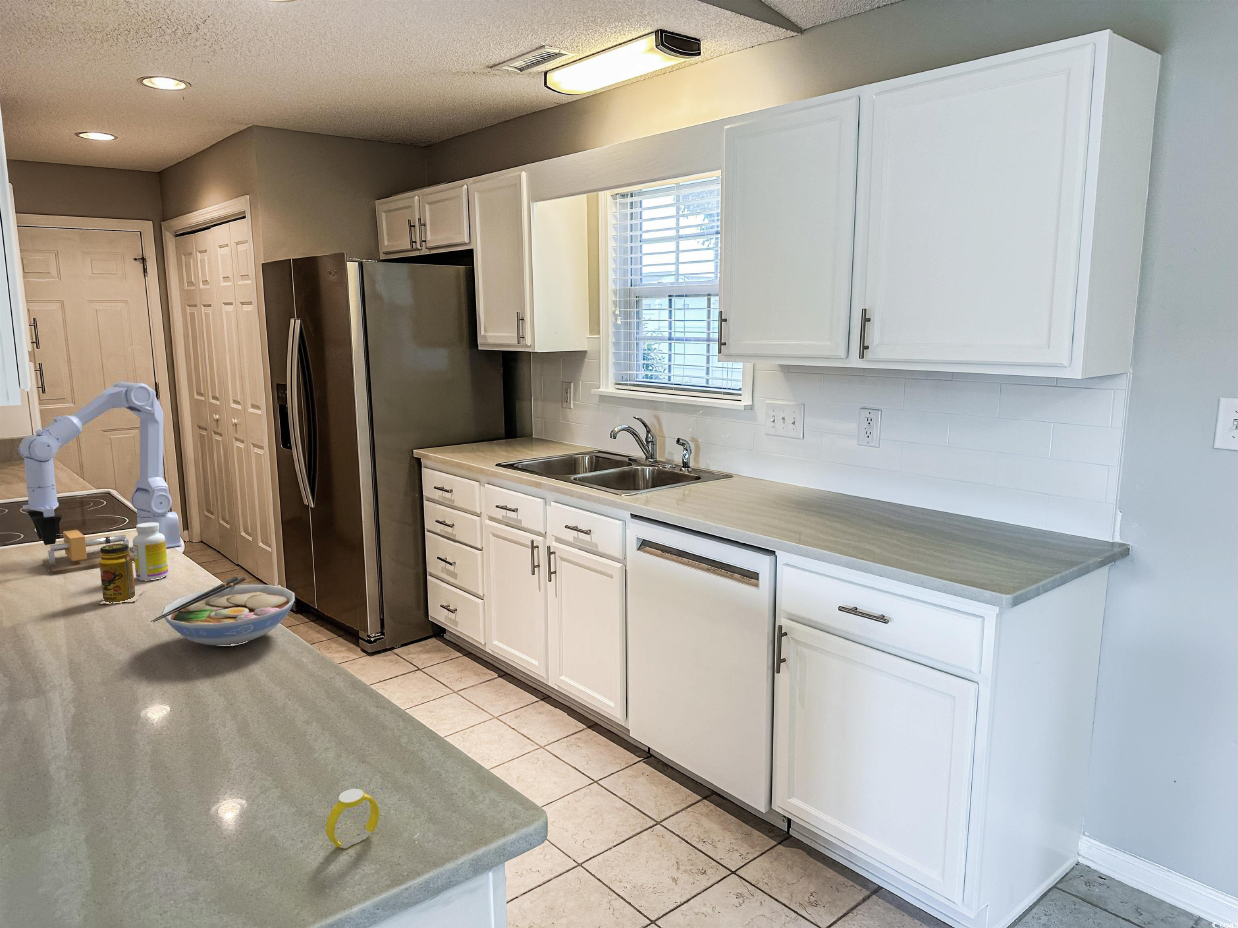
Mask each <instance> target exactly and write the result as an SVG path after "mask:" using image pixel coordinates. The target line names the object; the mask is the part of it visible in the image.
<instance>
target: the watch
mask: <svg viewBox="0 0 1238 928" xmlns="http://www.w3.org/2000/svg"><path fill="white" fill-rule="evenodd" d="M364 801H368V803H369V806H370V815H369V818H368V821H367V824H366V825H365V826H364V828H365V827H366V829H367V830H368V831H369V832H371V831H372V833H373V832H374V831H375V829H376V828H377V825H378V821H379V818H380V811H379V805H378V802H376V801H375V799H374V798H373V797H371V796H370V795H369V794H368V793H364V790H362V789H360V788H350V789H347V790H345V791H342V792H341V793H340V794H339V795H338V802H337V803H336V804H335V805H334V806H333V808H332V809H331V811H330V812H329V815H328V816H327V817H328V818H327V819H326V827H325V829H326V830H325V831H326V835H327V837H328V839H329V840H330V842H331V843H332V844H333V845H335V846H336V847H338V848H340V846H342V844H341V843H340V842H339V841H340V840H338V839H337V837H336V832H335V831H336V823H338V822H337V821H338V819H339V818H340V815H341V814H342V813H343V812H344V810H345V809H346V808H354V807H357V806H359V805H361V804H362V803H363V802H364ZM337 840H338V841H337Z"/></svg>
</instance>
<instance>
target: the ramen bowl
mask: <svg viewBox="0 0 1238 928" xmlns="http://www.w3.org/2000/svg"><path fill="white" fill-rule="evenodd" d="M245 581H246V577H244V576H243V577H240V578H238V576H234V577H231V578H230V579H228V580H226V581H225V582H222V583H221V584H218V585H216V586H215V587H213V588H211V589H207V590H201V591H196V592H194V593H190V594H188V595H183V596H181V597H178V598H176V599H175V600H173V601H171V602H170V603H168V604H166V605H165V606H164V607H163V610H162V612H161V615H160V616H158V617H156V618H154V619H152V620H150V623H152V622H153V623H156V622H157V621H160V620H163V619H164V620H165V621H166V623H167V624H168V625H169V626H170V627H171V628H172V629H173V630H174V631H176V632H177V633H178V634H180V635H181V636H182V637H183V638H185V639H186V640H187V641H190V642H193V643H198V644H203V645H207V646H214V645H231V644H239V643H243V642H246V641H250V640H252V641H253V640H255V639H257V638H259V637H263V636H265V635H267V634H268V633H270V632H271V631H273V630H274V629H275V628H276V627H277V626H278V625H280V624H281V623H282V622H283V620H284V619H285V618H286V617H287V615H288V613H289V612H290V610H291V609H292V607H293V605H294V603H295V592H293V591H291V590H289V589H287V588H286V587H282V586H276V585H270V584H241V583H242V582H245ZM238 584H241V585H238ZM250 642H251V641H250Z"/></svg>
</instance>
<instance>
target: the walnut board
mask: <svg viewBox="0 0 1238 928" xmlns="http://www.w3.org/2000/svg"><path fill="white" fill-rule="evenodd" d="M86 553H87V559H83V560H76V561H72V560H71V559H70V558H69V557H68V556H67V555H66V556H59V557H58V556H57V557H55V565H51V566H50V564H49V558H45V559H42V564H43V565H44V566H45V568H46V569H47V570H48V571H49V572H50V574H51V575H52V576H55V575H56V576H57V575H61V574H68V573H75V572H83V571H86V570H87V571H88V570H94V569H100V564H99V561H100V560H101V556H100V555H101V551H100V550H99V551H92V552H86ZM129 555H130V556H131V557H132V561H134V552H132V551H130V553H129Z"/></svg>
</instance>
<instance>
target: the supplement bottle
mask: <svg viewBox="0 0 1238 928" xmlns="http://www.w3.org/2000/svg"><path fill="white" fill-rule="evenodd" d="M135 527H136V529H135V531H136V532H137V534H136V536H134V537H133V538H132V548H133V554H134V561H135V562H134V568H135V576H136V579H137V580H138V579H139V580H138V581H140V580H151V579H156V578H161V577H163V576H166V575H167V574H168V575H169V567H168V558H167V548H166V543H165V537H164V535H163V534H161V533H159V531H158V530H159V523H155V522H150V523H142V524H138V523H137V524H136V525H135ZM168 575H167V576H168ZM167 576H166V577H167Z"/></svg>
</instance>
